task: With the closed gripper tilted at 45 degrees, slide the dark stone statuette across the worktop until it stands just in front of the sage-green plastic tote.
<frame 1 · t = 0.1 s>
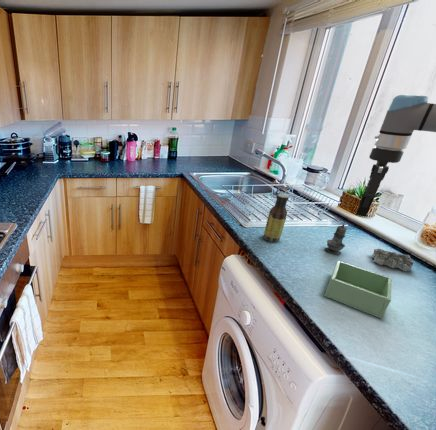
hand: (362, 209, 99), 21 cm above the worktop, tool pointing down, fingers open, 13 cm apart
egg carton: (389, 263, 106), on the worktop
tote: (353, 295, 90), on the worktop
sauce bottle: (270, 239, 121), on the worktop
dark stone statuette: (332, 251, 113), on the worktop
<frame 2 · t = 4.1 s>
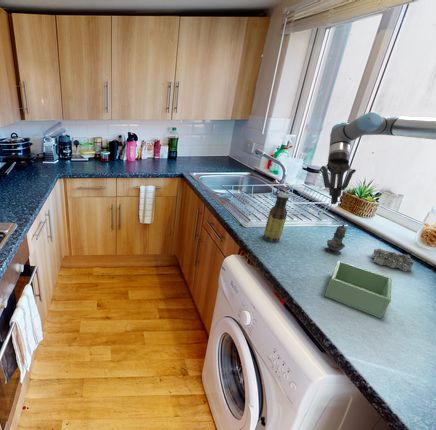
hand: (334, 202, 123), 14 cm above the worktop, tool tilted 45°, fingers closed
nothing on the worktop moved.
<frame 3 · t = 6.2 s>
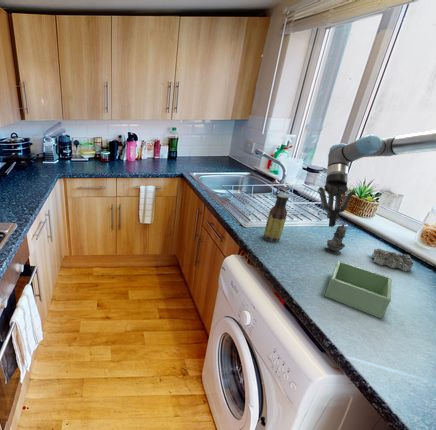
hand: (332, 225, 120), 6 cm above the worktop, tool tilted 45°, fingers closed
nothing on the worktop moved.
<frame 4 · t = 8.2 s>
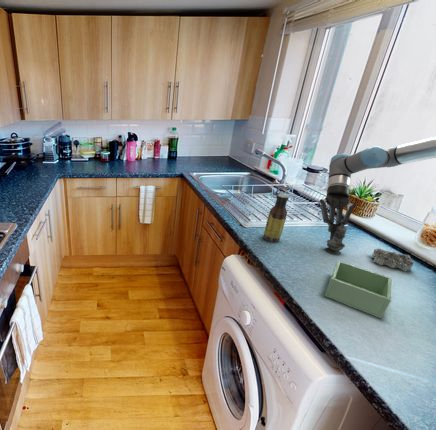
hand: (333, 239, 115), 3 cm above the worktop, tool tilted 45°, fingers closed
dark stone statuette: (332, 251, 113), on the worktop, touching gripper
everything else where it was.
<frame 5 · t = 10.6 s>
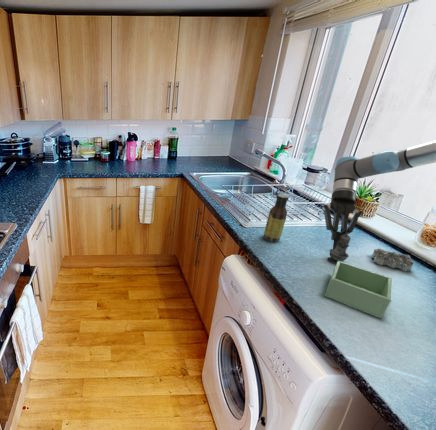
hand: (336, 248, 108), 4 cm above the worktop, tool tilted 45°, fingers closed
dark stone statuette: (335, 261, 107), on the worktop, touching gripper
everything else where it was.
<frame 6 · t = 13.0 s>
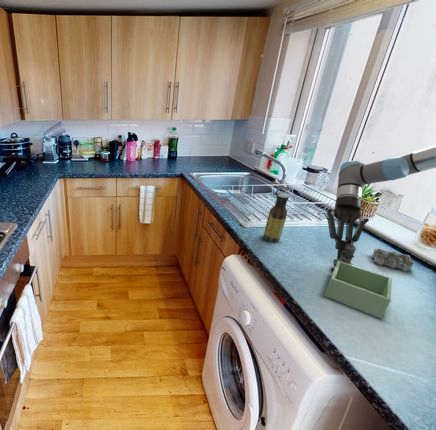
hand: (341, 258, 102), 4 cm above the worktop, tool tilted 45°, fingers closed
dark stone statuette: (339, 272, 101), on the worktop, touching gripper
everything else where it was.
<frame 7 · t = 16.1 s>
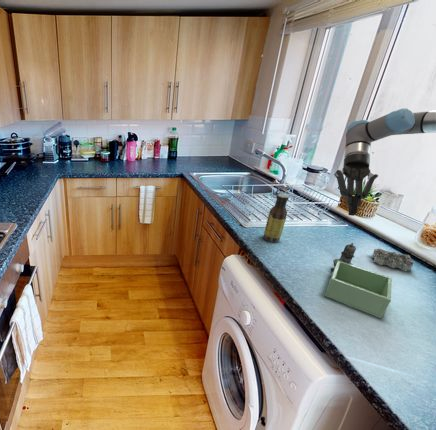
hand: (352, 213, 102), 18 cm above the worktop, tool tilted 45°, fingers closed
dark stone statuette: (339, 272, 101), on the worktop
everything else where it was.
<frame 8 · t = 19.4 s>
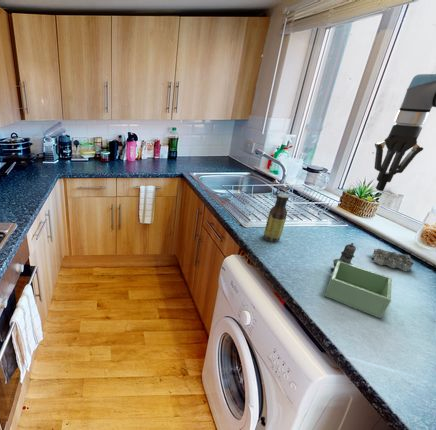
hand: (379, 189, 107), 24 cm above the worktop, tool pointing down, fingers closed
nothing on the worktop moved.
at the end: dark stone statuette 12.9 cm from the tote (horizontally); dark stone statuette moved 15.6 cm from its start; dark stone statuette tilted 0° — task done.
